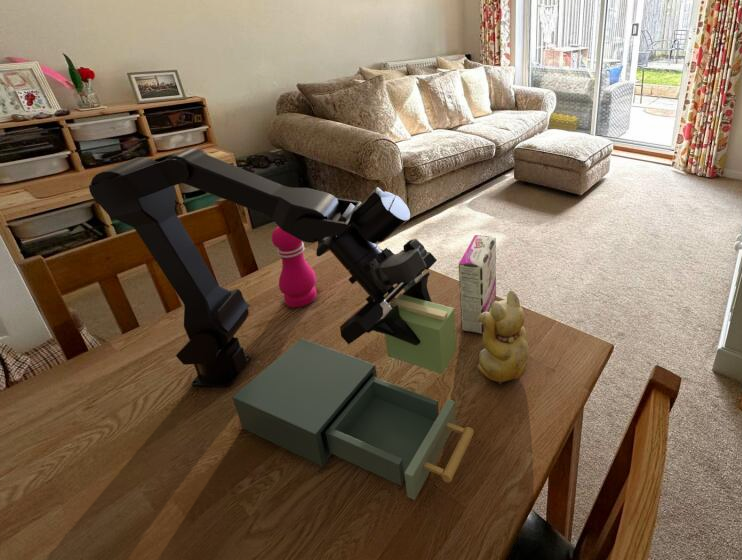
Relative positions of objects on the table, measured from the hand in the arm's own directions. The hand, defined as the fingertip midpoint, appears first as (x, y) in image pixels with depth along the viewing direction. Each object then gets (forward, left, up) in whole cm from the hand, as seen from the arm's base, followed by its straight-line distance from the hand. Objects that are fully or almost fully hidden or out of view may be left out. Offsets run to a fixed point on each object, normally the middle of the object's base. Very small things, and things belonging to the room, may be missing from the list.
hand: (427, 332), depth 64 cm
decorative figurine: (+13, +4, -12) cm, 18 cm away
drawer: (-2, -10, -11) cm, 16 cm away
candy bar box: (+7, +18, -12) cm, 23 cm away
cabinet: (-18, -5, -12) cm, 22 cm away
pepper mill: (-33, +22, -12) cm, 42 cm away
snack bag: (-1, +1, -5) cm, 5 cm away
